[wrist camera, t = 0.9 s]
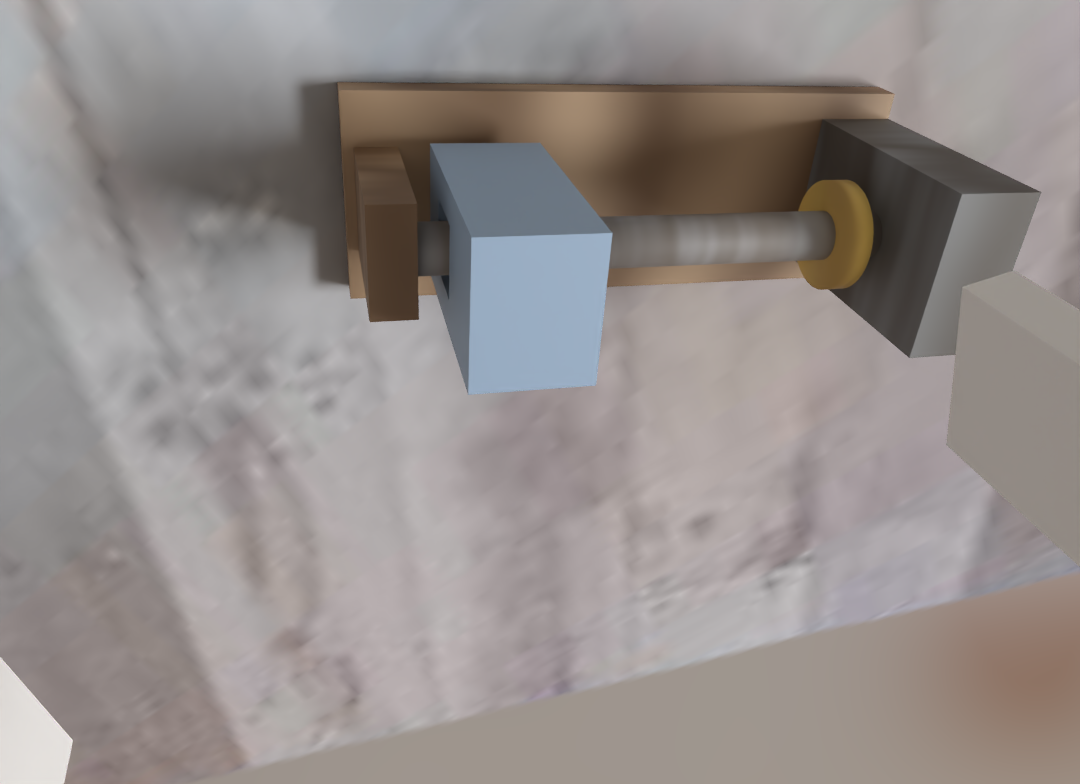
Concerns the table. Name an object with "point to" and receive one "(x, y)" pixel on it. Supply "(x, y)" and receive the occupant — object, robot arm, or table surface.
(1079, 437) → the robot arm
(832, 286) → the sliding block fixture
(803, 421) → the table surface
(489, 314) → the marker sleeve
